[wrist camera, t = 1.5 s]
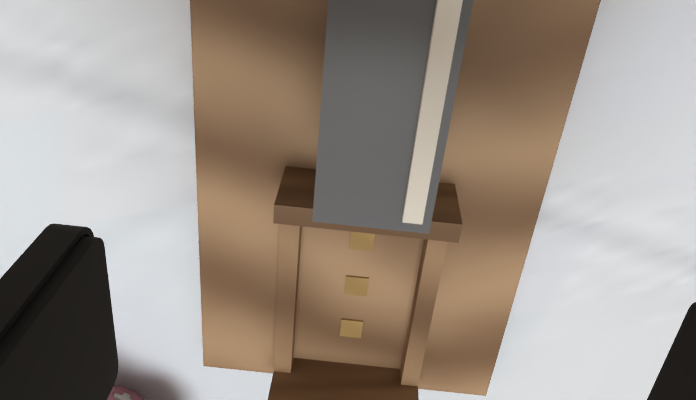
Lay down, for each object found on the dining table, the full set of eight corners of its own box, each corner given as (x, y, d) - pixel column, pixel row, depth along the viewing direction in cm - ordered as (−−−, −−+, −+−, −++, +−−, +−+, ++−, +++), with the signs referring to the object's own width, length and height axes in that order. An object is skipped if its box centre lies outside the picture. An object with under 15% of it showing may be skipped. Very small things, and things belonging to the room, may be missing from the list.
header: (193, -139, 21) (154, -133, 17) (616, -95, 21) (662, -79, 17) (208, 351, 32) (187, 414, 28) (483, 380, 32) (494, 447, 28)
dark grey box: (346, -86, 20) (331, -55, 15) (457, -74, 20) (482, -39, 15) (328, 138, 24) (311, 227, 19) (420, 148, 24) (429, 239, 19)
